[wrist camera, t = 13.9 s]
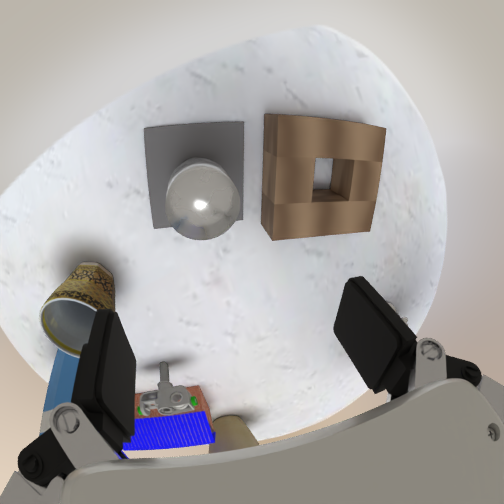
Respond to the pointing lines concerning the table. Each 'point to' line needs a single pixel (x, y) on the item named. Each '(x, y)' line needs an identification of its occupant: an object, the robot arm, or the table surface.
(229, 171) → the mat
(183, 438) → the house
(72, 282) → the ceramic cup
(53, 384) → the water bottle
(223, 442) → the plant pot
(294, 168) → the housing
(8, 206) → the table surface
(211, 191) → the grey metal cylinder
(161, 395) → the mechanical component
